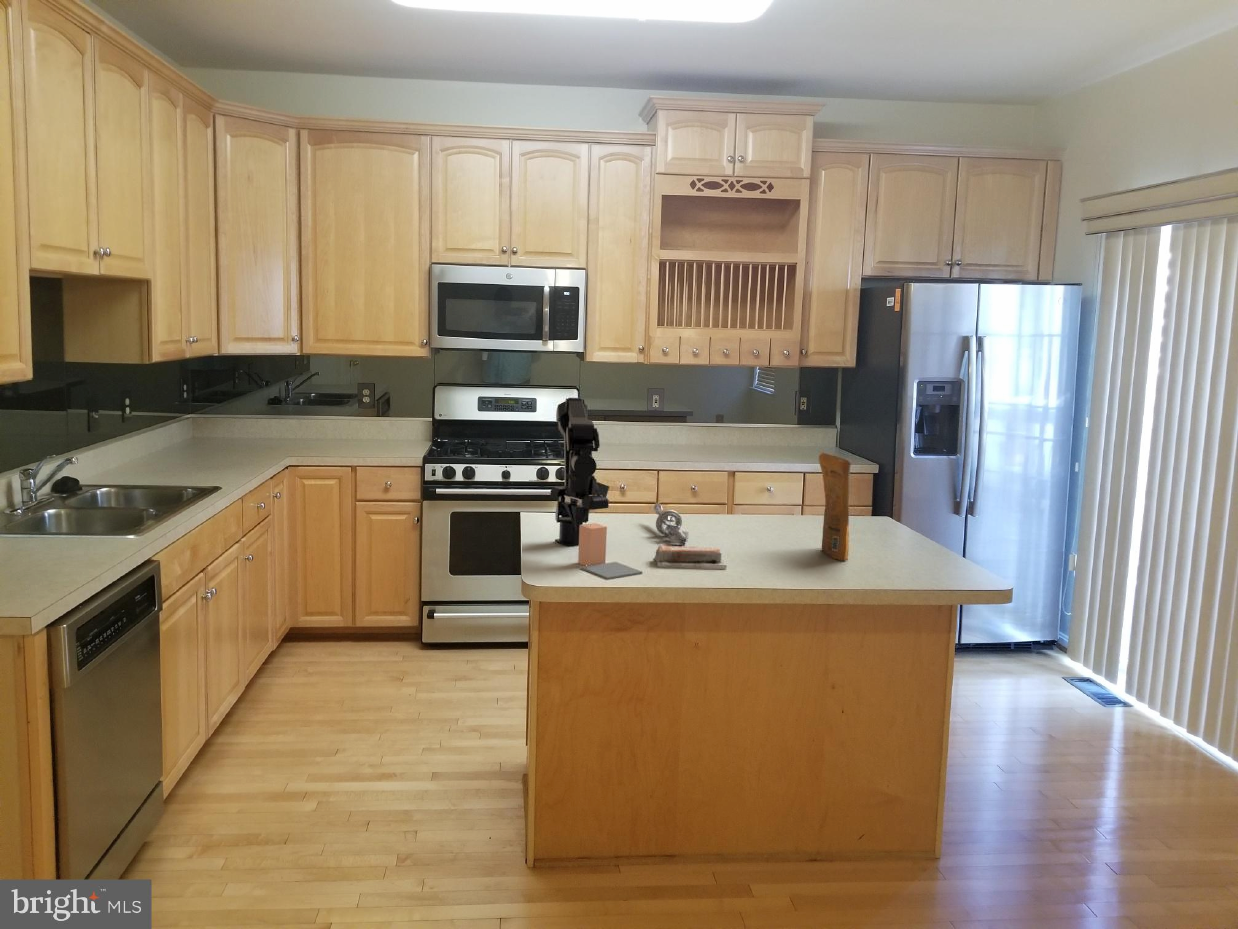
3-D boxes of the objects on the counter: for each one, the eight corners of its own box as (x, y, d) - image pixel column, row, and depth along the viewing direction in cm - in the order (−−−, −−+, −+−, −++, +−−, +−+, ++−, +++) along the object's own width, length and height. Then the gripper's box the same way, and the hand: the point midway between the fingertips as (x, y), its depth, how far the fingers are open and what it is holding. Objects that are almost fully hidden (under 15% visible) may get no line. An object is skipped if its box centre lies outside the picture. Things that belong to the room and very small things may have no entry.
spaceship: (671, 497, 309) (649, 488, 306) (702, 535, 276) (678, 525, 273) (660, 520, 310) (638, 511, 307) (690, 560, 277) (665, 550, 274)
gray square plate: (581, 569, 251) (581, 567, 251) (615, 563, 258) (615, 561, 258) (607, 579, 243) (607, 577, 243) (642, 573, 249) (642, 571, 249)
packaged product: (658, 551, 255) (655, 542, 265) (657, 569, 256) (654, 559, 266) (728, 553, 256) (721, 543, 266) (727, 571, 257) (720, 561, 267)
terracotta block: (578, 562, 257) (579, 525, 256) (593, 560, 260) (595, 523, 259) (589, 567, 253) (591, 528, 252) (605, 564, 257) (606, 526, 255)
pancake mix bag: (830, 562, 269) (839, 460, 265) (810, 545, 288) (817, 449, 283) (854, 563, 270) (863, 461, 265) (832, 546, 289) (840, 450, 284)
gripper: (626, 474, 256) (623, 533, 258) (584, 463, 271) (582, 520, 273) (591, 477, 249) (589, 538, 252) (550, 466, 264) (548, 524, 266)
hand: (577, 529), depth 261 cm, fingers closed
